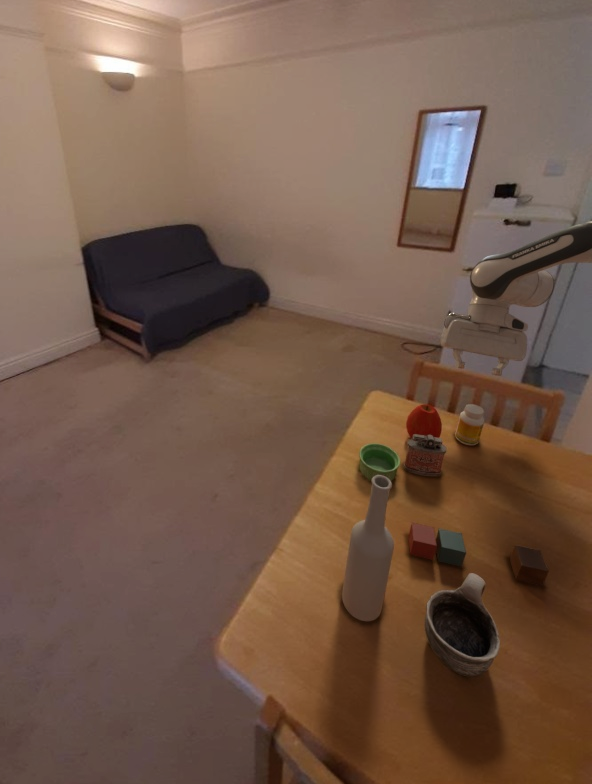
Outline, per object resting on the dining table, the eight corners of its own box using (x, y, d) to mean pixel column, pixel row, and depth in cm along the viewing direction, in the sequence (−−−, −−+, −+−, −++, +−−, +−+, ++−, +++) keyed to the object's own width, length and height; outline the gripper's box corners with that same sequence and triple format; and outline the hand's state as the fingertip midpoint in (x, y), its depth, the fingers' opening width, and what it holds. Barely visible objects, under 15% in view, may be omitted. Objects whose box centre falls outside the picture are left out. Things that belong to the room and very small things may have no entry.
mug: (413, 660, 61) (424, 621, 57) (427, 587, 71) (437, 550, 67) (487, 702, 57) (505, 664, 52) (491, 618, 66) (506, 580, 62)
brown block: (534, 564, 74) (540, 550, 72) (542, 586, 70) (549, 571, 69) (509, 558, 75) (514, 544, 73) (515, 579, 71) (521, 565, 70)
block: (457, 547, 77) (461, 533, 76) (461, 566, 74) (466, 552, 72) (434, 542, 78) (438, 528, 77) (437, 561, 75) (441, 547, 73)
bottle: (377, 629, 65) (402, 508, 53) (337, 608, 68) (352, 489, 56) (385, 592, 70) (409, 473, 58) (347, 574, 73) (363, 458, 61)
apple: (414, 424, 109) (420, 391, 105) (444, 440, 103) (452, 406, 99) (397, 438, 105) (403, 404, 100) (429, 455, 99) (436, 420, 94)
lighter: (439, 467, 95) (447, 434, 91) (441, 478, 92) (450, 444, 88) (402, 461, 97) (408, 429, 93) (404, 472, 94) (410, 438, 90)
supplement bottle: (454, 429, 107) (461, 400, 103) (477, 434, 105) (485, 404, 101) (455, 443, 102) (463, 412, 98) (479, 448, 100) (488, 417, 96)
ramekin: (356, 481, 92) (358, 467, 91) (357, 453, 100) (359, 440, 98) (398, 489, 90) (401, 475, 88) (396, 460, 98) (398, 446, 96)
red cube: (430, 541, 79) (434, 527, 77) (433, 560, 75) (437, 545, 74) (408, 536, 80) (411, 522, 78) (410, 554, 76) (413, 540, 75)
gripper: (452, 310, 101) (443, 364, 101) (534, 325, 100) (526, 380, 100) (440, 312, 107) (431, 363, 107) (517, 326, 107) (509, 378, 106)
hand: (477, 371), depth 103 cm, fingers open, 8 cm apart
